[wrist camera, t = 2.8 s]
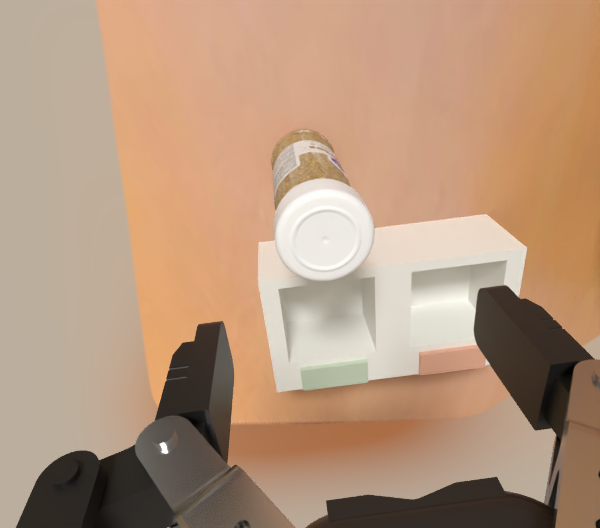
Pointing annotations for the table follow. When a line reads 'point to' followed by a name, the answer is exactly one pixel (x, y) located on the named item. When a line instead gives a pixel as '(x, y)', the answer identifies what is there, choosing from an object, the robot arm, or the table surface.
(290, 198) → the spice jar
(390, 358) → the socket block
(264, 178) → the table surface
